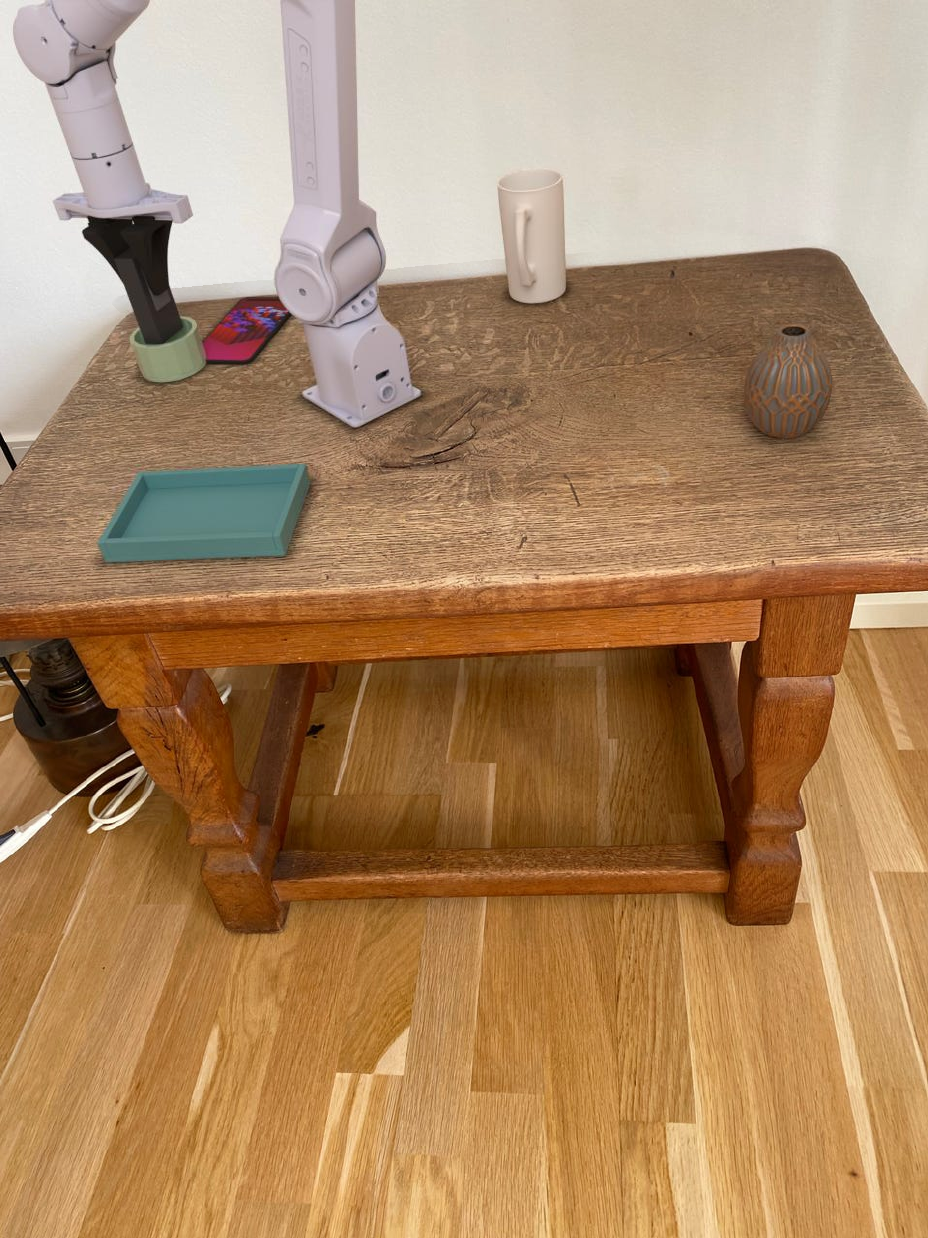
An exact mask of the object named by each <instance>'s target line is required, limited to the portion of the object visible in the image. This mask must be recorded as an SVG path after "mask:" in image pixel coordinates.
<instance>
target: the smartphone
mask: <svg viewBox="0 0 928 1238" xmlns="http://www.w3.org/2000/svg"><path fill="white" fill-rule="evenodd" d="M292 316H293V315H292V314H291V313H290V312H289V311H288V310H287V309H286V308H285V306H284V305H283V303H282V302H281V300H280V298H279V296H246V297H243V298H241V299H239V300H238V302H237V303H236V304H235V305H234V306H233V307H232V308H231V309H230V310H229V311H228V313H226V315H225V316H224V317H223V318H222V319H221V321H219V323H218V324H216V326H215V327H214V328H213V329H212V331H210V333H208V335H207V336H206V337H205V338H204V339H203V340H202V342H203V345H204V348H205V352H206V356H207V358H206V365H240V366H241V365H242V366H244V365H248V364H251V363H253V362H254V361H255V360H256V359H257V357H258V356H259V355H260V354H261V353H262V351H264V349H265V348H266V347H267V345H268V344H269V343H271V341H272V339H274V337H275V336H276V335H277V333H278V332H279V331H280V330H281V329H282V327H284V325H285V324H286V323H287V322H288V320H289V319H290V318H291V317H292Z"/></svg>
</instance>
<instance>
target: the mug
mask: <svg viewBox="0 0 928 1238" xmlns="http://www.w3.org/2000/svg"><path fill="white" fill-rule="evenodd" d="M563 175H564V174H563V173H562V172H561V171H559V170H558V169H553V168H550V167H549V168H548V167H528V168H523V169H522V168H521V169H517V170H514V171H510V172H508V173H506V174H504V175H502V176H500V177H499V178H498V180H497V182H496V186H497V197H498V199H497V200H498V207H499V208H498V209H499V216H500V217H499V218H500V225H501V234H502V235H501V236H502V243H503V244H502V245H503V250H504V251H503V252H504V253H503V254H504V260H505V262H504V263H505V268H506V269H505V270H506V276H507V285H508V293H509V296H510V297H511V299H513V300H515V301H516V302H519V303H523V304H543V303H547V302H549V301H554V300H556V299H558V298H560V297H561V296H562V295H563V294H564V293H565V292H566V288H567V279H566V278H567V275H566V274H567V265H566V261H567V260H566V234H565V233H566V232H565V229H566V228H565V198H564V197H565V196H564V194H565V193H564V192H565V191H564V178H563V177H564V176H563Z"/></svg>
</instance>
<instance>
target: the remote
mask: <svg viewBox="0 0 928 1238" xmlns="http://www.w3.org/2000/svg"><path fill="white" fill-rule="evenodd" d="M114 260H115V262H116V265H117V268H118V271H119V273H120V276H121V279H122V281H123V283H122V284H123V286H124V287H123V288H124V289H125V292H126V295H127V298H128V301H129V303H130V306H131V308H132V312H133V313H134V316H135V320H136V323H137V324H138V328H140V330H141V333H142V336H143V338H144V341H145V344H160V345H161V344H164V343H165V342H166V341H167V340H169V339H170V338H171V337H172V336H173V335H175V334H176V333H177V332H178V331H179V330H181V329H182V328H183V324H182V321H181V318H180V316H181V315H180V312H179V310H178V307H177V304H176V300H175V298H174V295H173V291H172V289H171V286H170V284H169V288H168V289H167V290H166V291H164V292H163V293H162V294H160V295H153V293H152V292H151V290H150V289H149V287H148V284H147V282H146V279H145V276H144V274H143V271H142V268H141V266H140V264H139V262H138V260H137V258H136V256H135V254H134V252H133V251H132V249H131V248H129V249H127V250H126V251H125V252H123V253H122V254H120V255H119V256H117V257H116V258H115V259H114ZM122 281H121V282H122Z"/></svg>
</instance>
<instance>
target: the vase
mask: <svg viewBox="0 0 928 1238" xmlns="http://www.w3.org/2000/svg"><path fill="white" fill-rule="evenodd" d="M832 390H833V375H832V370H831V365H830V362H829V359H828V358H827V356H826V354H825V353H824V352H823V350H822V349H821V348H820V346H819V345H818V343H817V342H816V341H815V340H814V338H813V335H812V333H811V331H810V328H809V327H808V326H806V325H805V324H801V323H787V324H784V325H782V326H780V327H779V328H778V329H777V331H776V332H775V334H774V336H773V337H772V339H770V340H769V342H767V344H765V345H764V346H763V347H762V349H761V350H760V351H759V352H758V353H757V354H756V355H755V356H754V358H753V360H752V361H751V363H750V365H749V368H748V370H747V372H746V376H745V379H744V386H743V401H744V407H745V411H746V414H747V416H748V418H749V420H750V421H751V423H752V424H753V425H754V426H755V427H756V428H757V429H758V430H759V431H760V432H761V433H763V434H764V435H766V436H767V437H768V436H769V437H772V438H776V439H793V438H798V437H800V436H802V435H805V434H806V433H808V432H809V431H810V430H812V429H813V428H814V427H816V425H817V424H819V423H820V422H821V420H822V418H823V417H824V416H825V413H826V412H827V410H828V408H829V405H830V401H831V397H832V392H833V391H832Z"/></svg>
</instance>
